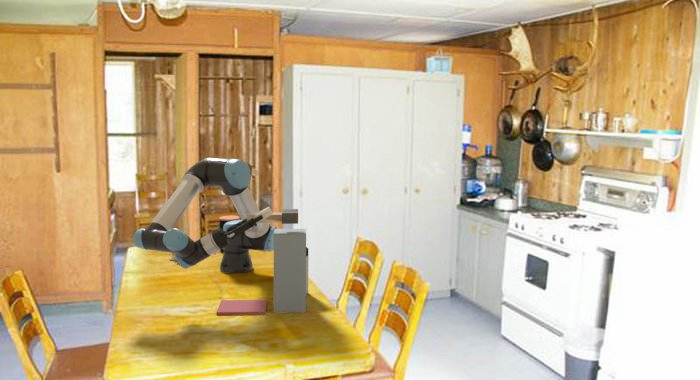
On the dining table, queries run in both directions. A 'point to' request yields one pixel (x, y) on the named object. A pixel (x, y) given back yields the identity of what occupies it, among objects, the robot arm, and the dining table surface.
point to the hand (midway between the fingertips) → (270, 210)
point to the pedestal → (289, 270)
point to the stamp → (279, 217)
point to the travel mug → (306, 271)
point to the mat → (242, 307)
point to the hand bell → (173, 254)
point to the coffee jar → (224, 220)
